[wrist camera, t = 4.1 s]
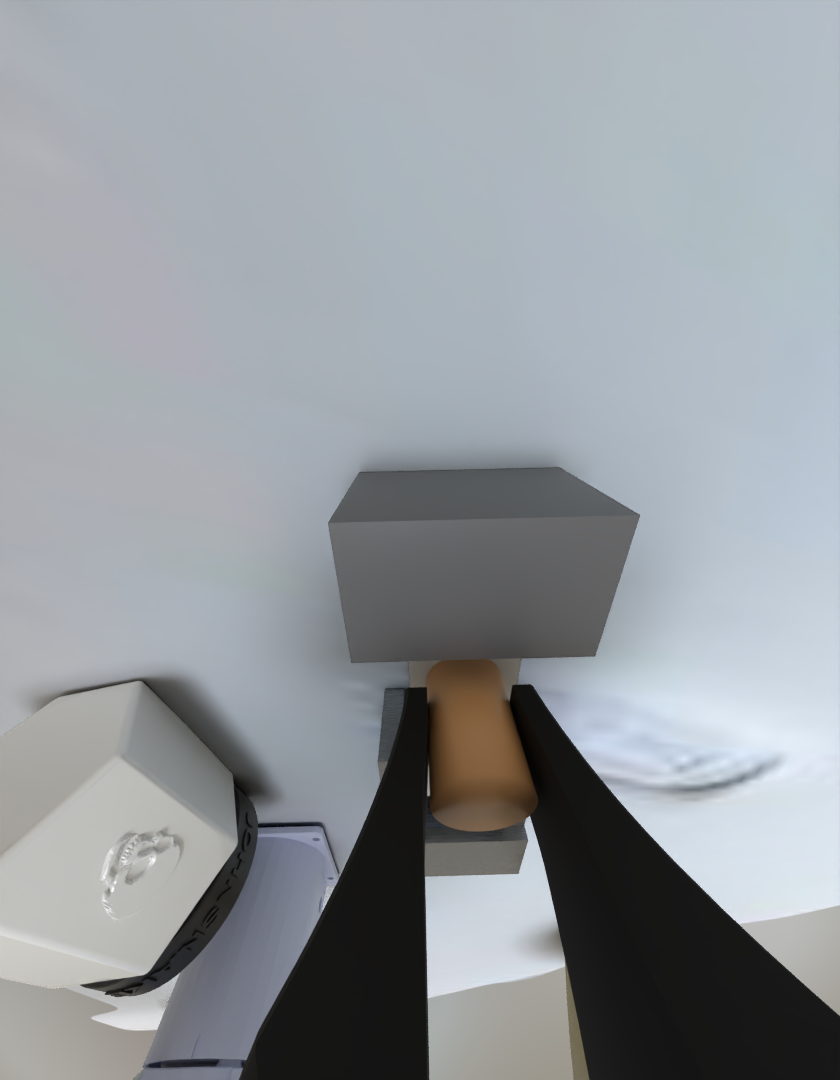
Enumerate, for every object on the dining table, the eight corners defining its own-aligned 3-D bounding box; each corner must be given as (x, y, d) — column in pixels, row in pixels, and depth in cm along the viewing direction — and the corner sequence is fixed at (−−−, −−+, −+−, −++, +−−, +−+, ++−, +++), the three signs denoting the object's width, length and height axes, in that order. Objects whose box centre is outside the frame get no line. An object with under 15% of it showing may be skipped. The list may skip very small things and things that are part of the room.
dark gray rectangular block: (540, 573, 13) (594, 656, 9) (370, 577, 13) (351, 662, 9) (559, 467, 11) (640, 514, 7) (359, 472, 11) (327, 522, 7)
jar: (180, 703, 14) (292, 818, 20) (107, 659, 18) (219, 765, 23) (-210, 1057, 7) (133, 1072, 13) (-187, 861, 11) (68, 940, 17)
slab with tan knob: (485, 732, 18) (521, 912, 12) (415, 734, 18) (415, 915, 12) (510, 523, 12) (608, 668, 6) (406, 526, 12) (397, 674, 6)
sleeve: (498, 795, 21) (516, 880, 18) (396, 798, 21) (392, 884, 18) (518, 685, 16) (547, 773, 13) (384, 689, 16) (376, 777, 13)
